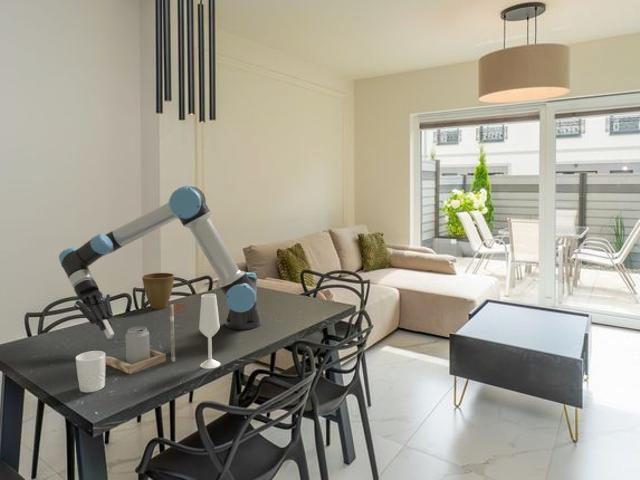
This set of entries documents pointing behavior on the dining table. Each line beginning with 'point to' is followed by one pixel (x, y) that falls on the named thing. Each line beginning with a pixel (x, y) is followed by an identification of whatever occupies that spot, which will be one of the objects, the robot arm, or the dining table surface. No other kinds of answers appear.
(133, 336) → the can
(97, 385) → the white cup
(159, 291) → the plant pot
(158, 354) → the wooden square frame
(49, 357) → the dining table surface
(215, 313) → the champagne flute
